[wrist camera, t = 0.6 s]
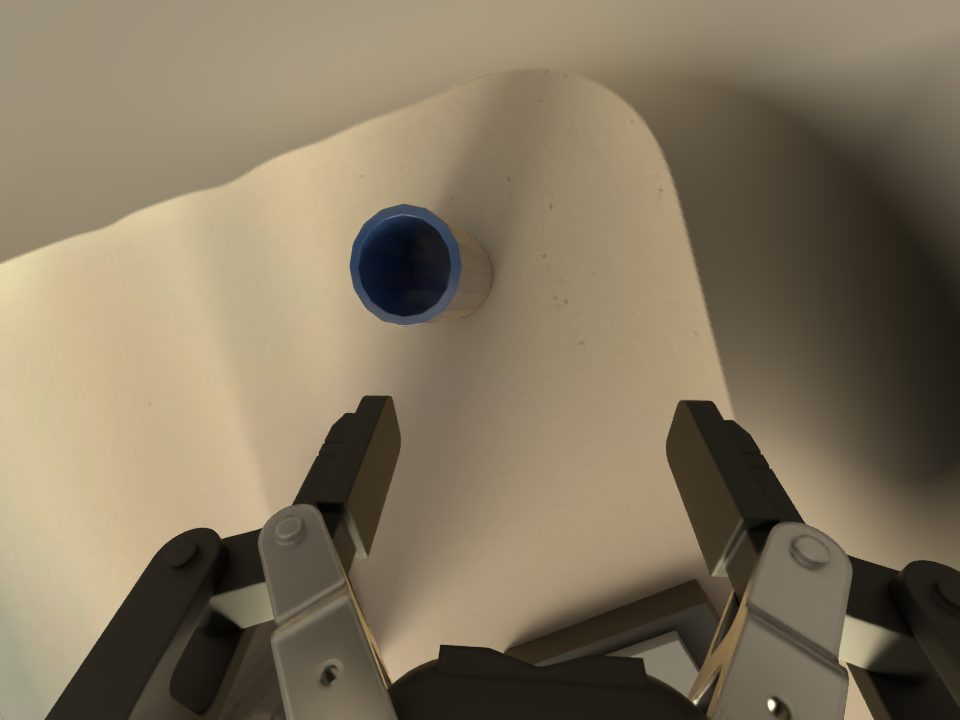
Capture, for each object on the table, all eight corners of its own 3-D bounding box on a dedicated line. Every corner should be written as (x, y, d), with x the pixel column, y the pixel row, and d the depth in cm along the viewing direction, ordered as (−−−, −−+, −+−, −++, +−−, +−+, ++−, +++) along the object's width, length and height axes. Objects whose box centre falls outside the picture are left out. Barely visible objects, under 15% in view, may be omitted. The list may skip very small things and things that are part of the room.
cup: (463, 214, 27) (419, 179, 20) (509, 289, 27) (482, 284, 20) (395, 263, 29) (329, 249, 21) (438, 334, 29) (388, 347, 21)
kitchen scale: (696, 578, 27) (710, 611, 24) (798, 747, 27) (825, 800, 24) (504, 651, 31) (496, 687, 28) (594, 798, 31) (596, 849, 28)
